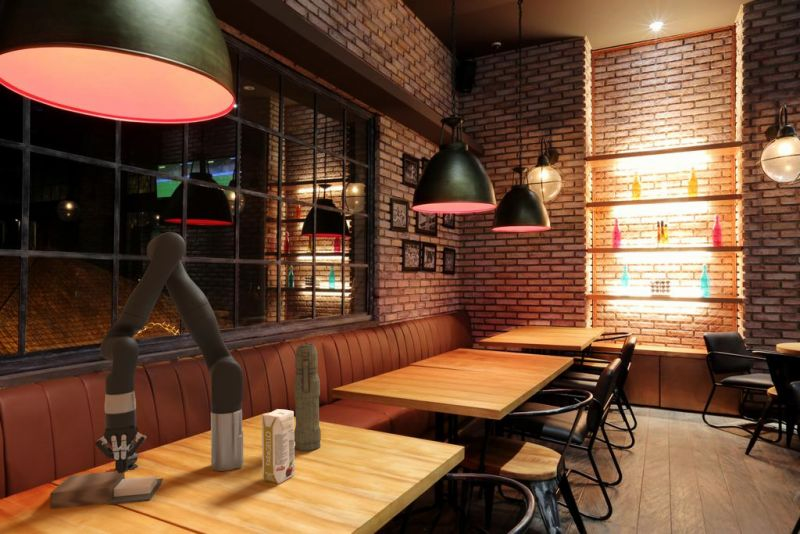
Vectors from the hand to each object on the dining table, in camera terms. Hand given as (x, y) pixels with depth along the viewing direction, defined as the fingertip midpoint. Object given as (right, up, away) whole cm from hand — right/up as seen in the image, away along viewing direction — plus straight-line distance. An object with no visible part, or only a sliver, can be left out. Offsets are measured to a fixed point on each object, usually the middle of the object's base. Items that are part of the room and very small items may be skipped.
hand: (121, 472), depth 141 cm
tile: (+3, -5, +1) cm, 6 cm away
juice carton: (+41, -5, +9) cm, 42 cm away
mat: (+4, -6, +1) cm, 7 cm away
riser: (-8, -6, -2) cm, 10 cm away
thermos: (+45, -6, +35) cm, 57 cm away
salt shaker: (-8, -6, +19) cm, 21 cm away
